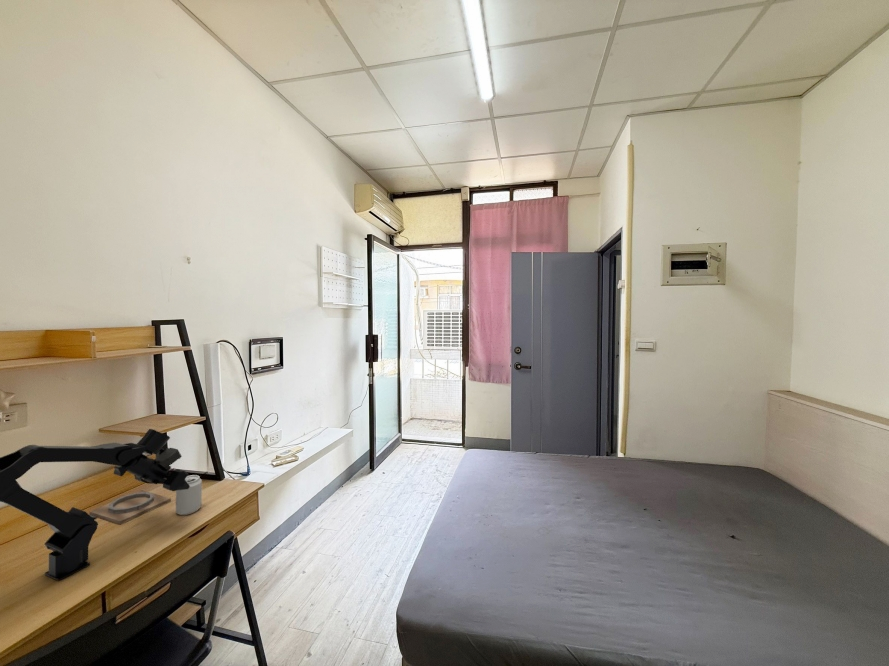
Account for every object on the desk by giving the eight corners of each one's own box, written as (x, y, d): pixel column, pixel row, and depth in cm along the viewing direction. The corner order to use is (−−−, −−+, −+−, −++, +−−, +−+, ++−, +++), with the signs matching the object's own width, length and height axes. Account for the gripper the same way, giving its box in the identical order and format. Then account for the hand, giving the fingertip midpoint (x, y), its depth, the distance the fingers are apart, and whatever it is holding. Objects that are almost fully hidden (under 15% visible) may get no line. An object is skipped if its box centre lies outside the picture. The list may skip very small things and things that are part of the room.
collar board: (120, 524, 114) (120, 516, 114) (89, 514, 118) (89, 507, 118) (170, 501, 129) (171, 494, 129) (141, 493, 134) (142, 486, 133)
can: (184, 518, 119) (185, 484, 118) (170, 513, 121) (171, 480, 121) (206, 507, 126) (206, 475, 125) (191, 503, 128) (192, 472, 128)
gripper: (182, 448, 111) (214, 467, 122) (145, 439, 117) (178, 458, 128) (154, 482, 104) (191, 499, 115) (117, 471, 110) (155, 488, 121)
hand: (179, 485), depth 120 cm, fingers open, 9 cm apart
